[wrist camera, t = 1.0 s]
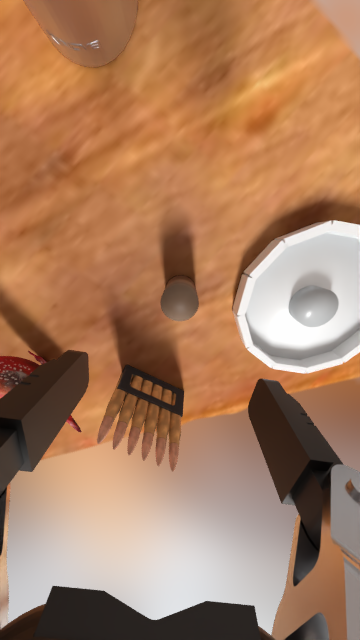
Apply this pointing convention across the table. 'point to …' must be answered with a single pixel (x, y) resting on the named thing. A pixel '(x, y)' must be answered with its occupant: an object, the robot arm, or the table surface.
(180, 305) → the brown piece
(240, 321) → the ring tray
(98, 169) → the table surface
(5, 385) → the decorative bird figurine
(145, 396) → the ammunition clip
